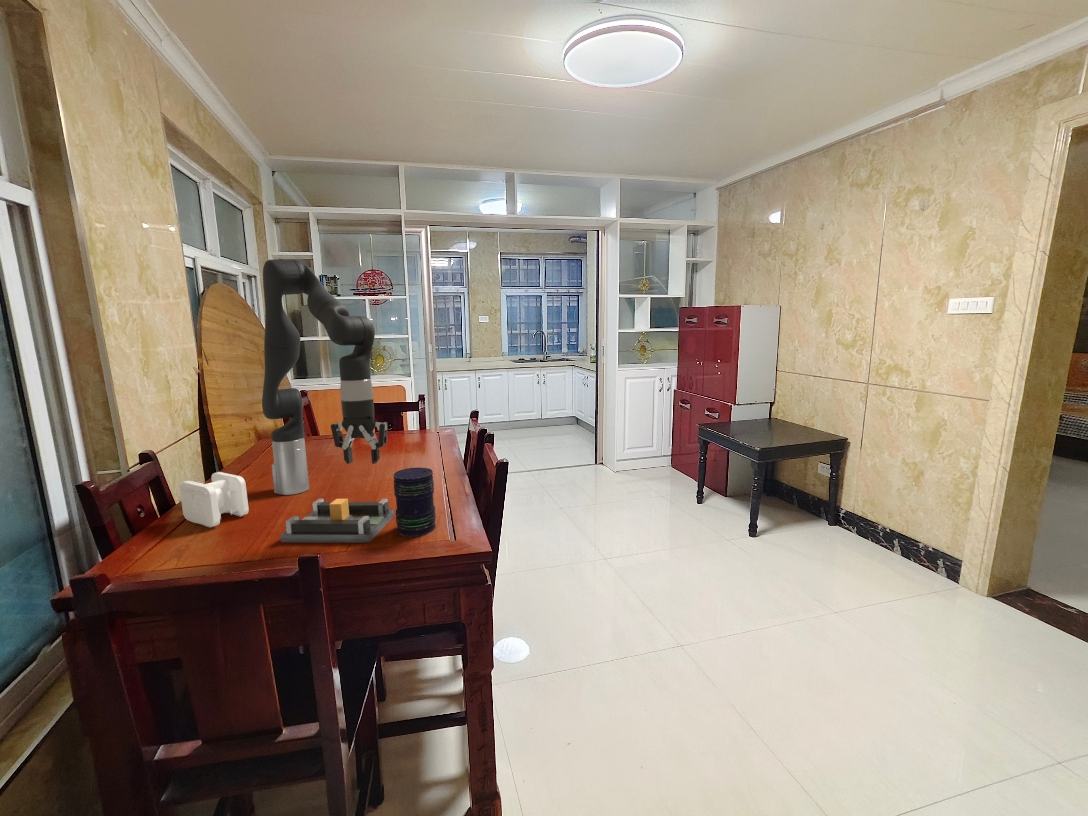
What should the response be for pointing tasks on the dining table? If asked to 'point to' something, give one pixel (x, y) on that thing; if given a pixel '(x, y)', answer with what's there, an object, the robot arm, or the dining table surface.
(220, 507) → the cable organizer
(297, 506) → the dining table surface
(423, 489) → the dark blue cylinder
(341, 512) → the toggle
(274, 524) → the dining table surface
